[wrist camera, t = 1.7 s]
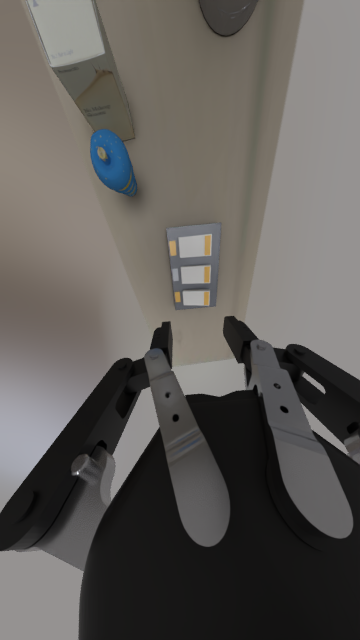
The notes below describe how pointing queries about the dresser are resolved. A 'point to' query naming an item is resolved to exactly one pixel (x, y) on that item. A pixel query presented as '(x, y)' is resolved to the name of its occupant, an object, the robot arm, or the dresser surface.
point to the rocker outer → (196, 297)
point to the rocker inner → (195, 246)
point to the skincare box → (83, 61)
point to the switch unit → (193, 261)
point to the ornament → (112, 162)
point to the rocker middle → (195, 274)
